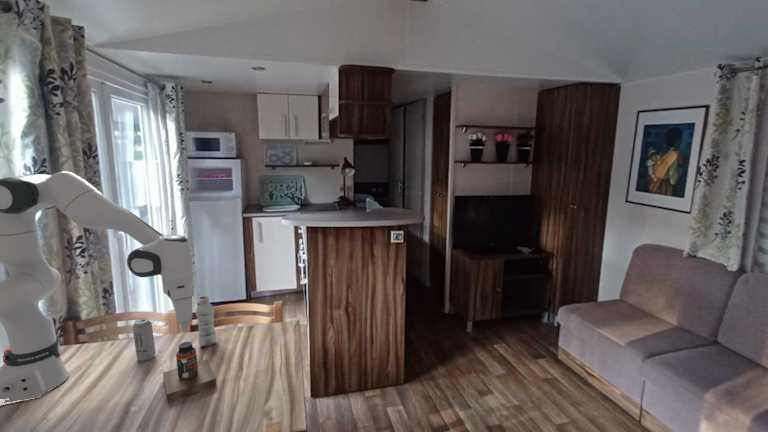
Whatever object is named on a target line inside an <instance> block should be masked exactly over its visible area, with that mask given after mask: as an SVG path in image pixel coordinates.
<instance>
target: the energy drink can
mask: <svg viewBox="0 0 768 432" xmlns="http://www.w3.org/2000/svg"><path fill="white" fill-rule="evenodd" d="M132 334H133V340H134V341H133V342H134V347H135V354H136V359H137V360H138V361H139V362H142V363H143V362H147V361H150V360H152V359H154V357H155V355H156V347H155V346H156V345H155V339H154V330H153V323H152V321H150V319H149V318H147V317H145V318H140V319H136V320H134V322H133V325H132Z"/></svg>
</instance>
